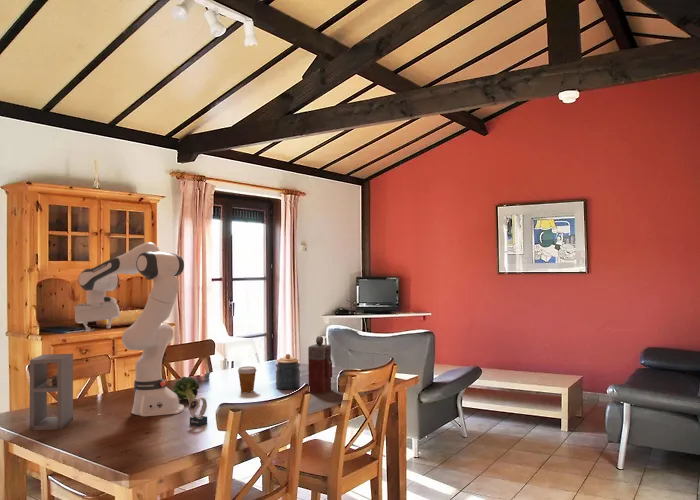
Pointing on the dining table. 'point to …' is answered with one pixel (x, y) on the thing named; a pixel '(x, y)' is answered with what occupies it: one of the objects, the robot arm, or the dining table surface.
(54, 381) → the slat
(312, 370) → the red square decanter
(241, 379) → the disposable coffee cup
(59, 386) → the shelf stand
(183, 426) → the dining table surface
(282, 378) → the canister
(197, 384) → the vegetable
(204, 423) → the watch
